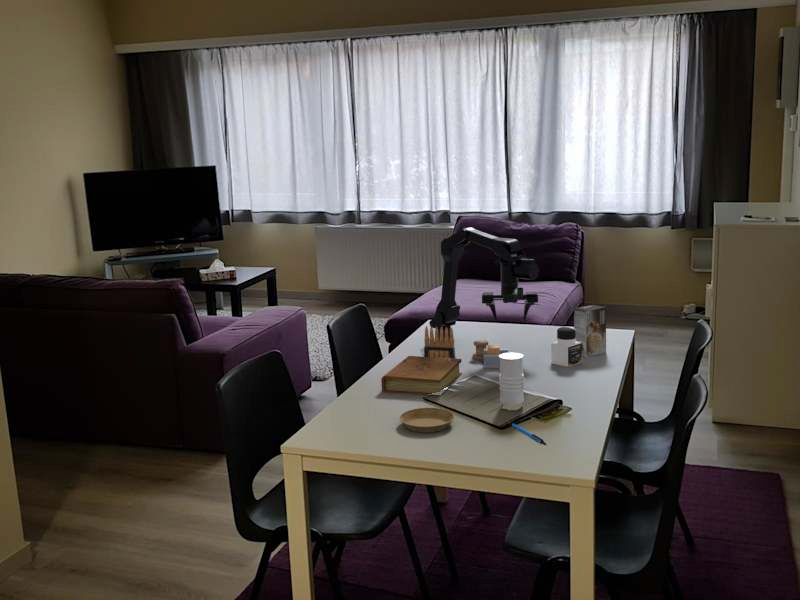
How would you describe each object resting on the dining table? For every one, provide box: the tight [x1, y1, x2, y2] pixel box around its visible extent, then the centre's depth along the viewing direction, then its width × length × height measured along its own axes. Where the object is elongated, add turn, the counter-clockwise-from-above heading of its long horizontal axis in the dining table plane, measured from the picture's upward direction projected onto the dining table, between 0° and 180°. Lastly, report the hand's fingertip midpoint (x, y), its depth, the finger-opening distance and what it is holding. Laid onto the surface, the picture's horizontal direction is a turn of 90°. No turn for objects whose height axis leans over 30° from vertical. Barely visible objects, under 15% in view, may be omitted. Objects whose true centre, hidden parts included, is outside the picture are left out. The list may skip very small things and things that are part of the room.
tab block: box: [486, 344, 501, 355], centre depth 283 cm, size 4×4×5 cm
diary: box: [380, 355, 463, 396], centre depth 266 cm, size 23×19×6 cm
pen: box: [511, 422, 547, 446], centre depth 220 cm, size 1×19×1 cm, turn 23°
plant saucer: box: [399, 407, 455, 433], centre depth 229 cm, size 15×15×3 cm
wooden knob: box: [471, 339, 489, 361], centre depth 291 cm, size 6×6×6 cm
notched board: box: [483, 348, 509, 369], centre depth 283 cm, size 9×8×4 cm
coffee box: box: [573, 304, 607, 358], centre depth 290 cm, size 9×6×16 cm
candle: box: [498, 352, 525, 404], centre depth 239 cm, size 7×7×15 cm
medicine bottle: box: [550, 326, 583, 368], centre depth 280 cm, size 7×7×12 cm
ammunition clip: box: [423, 325, 456, 358], centre depth 289 cm, size 11×2×12 cm, turn 70°
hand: (510, 322), depth 289 cm, fingers open, 9 cm apart
